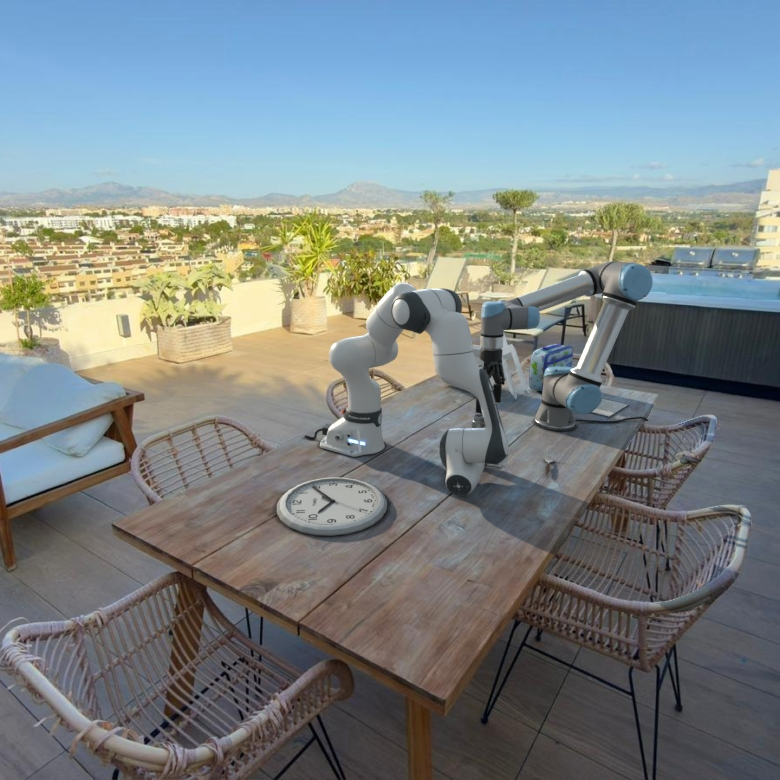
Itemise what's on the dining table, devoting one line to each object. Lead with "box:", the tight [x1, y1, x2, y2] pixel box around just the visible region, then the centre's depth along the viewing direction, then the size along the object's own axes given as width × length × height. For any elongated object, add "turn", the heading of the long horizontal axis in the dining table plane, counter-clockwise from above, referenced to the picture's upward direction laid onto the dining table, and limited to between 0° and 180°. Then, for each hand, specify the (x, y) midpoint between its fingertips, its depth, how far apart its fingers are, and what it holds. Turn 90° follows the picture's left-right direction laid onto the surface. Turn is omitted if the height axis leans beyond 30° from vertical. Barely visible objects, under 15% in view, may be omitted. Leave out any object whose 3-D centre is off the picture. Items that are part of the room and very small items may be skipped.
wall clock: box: [276, 476, 388, 537], centre depth 142 cm, size 30×2×30 cm
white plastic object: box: [441, 332, 531, 400], centre depth 245 cm, size 37×45×31 cm
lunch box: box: [528, 343, 574, 392], centre depth 248 cm, size 26×11×21 cm, turn 134°
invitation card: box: [591, 398, 629, 418], centre depth 226 cm, size 21×1×15 cm
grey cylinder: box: [471, 413, 486, 428], centre depth 166 cm, size 5×5×17 cm
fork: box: [544, 451, 555, 476], centre depth 168 cm, size 3×16×2 cm, turn 160°
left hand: (478, 445), depth 168 cm, fingers closed on grey cylinder, 5 cm apart
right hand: (488, 407), depth 183 cm, fingers open, 13 cm apart
